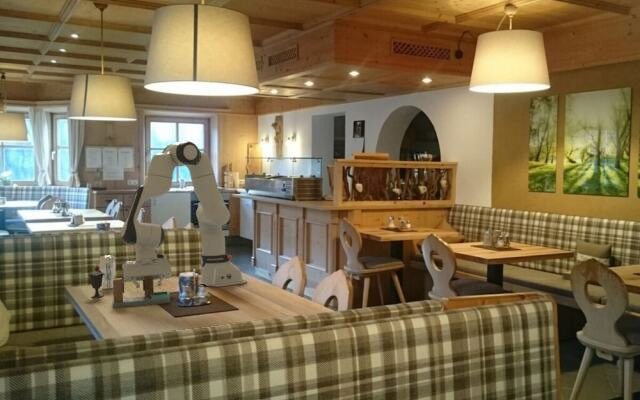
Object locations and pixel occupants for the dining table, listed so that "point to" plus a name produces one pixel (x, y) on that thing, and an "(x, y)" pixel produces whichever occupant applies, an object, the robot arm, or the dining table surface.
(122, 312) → the dining table surface
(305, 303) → the dining table surface
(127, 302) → the rail
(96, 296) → the sundae
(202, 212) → the robot arm
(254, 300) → the dining table surface
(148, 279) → the walnut finger
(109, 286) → the white carton
